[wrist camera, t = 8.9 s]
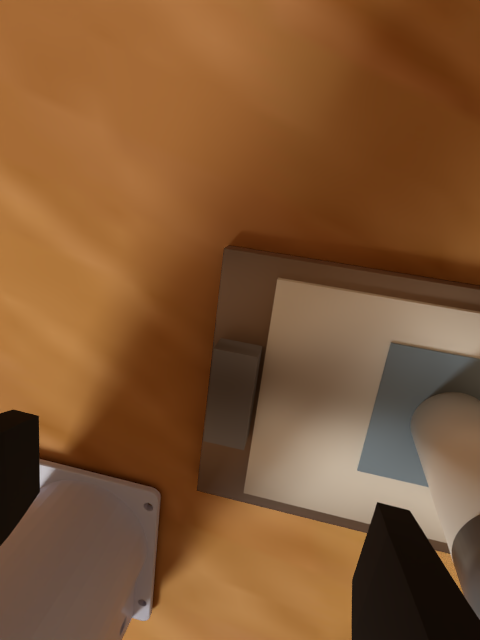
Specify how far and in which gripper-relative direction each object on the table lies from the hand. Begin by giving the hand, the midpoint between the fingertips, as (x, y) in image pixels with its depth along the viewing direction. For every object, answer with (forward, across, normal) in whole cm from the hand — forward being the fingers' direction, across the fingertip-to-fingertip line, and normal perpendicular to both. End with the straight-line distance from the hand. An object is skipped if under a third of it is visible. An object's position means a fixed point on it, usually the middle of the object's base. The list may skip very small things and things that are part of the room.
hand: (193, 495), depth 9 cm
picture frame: (+10, -6, +2) cm, 12 cm away
